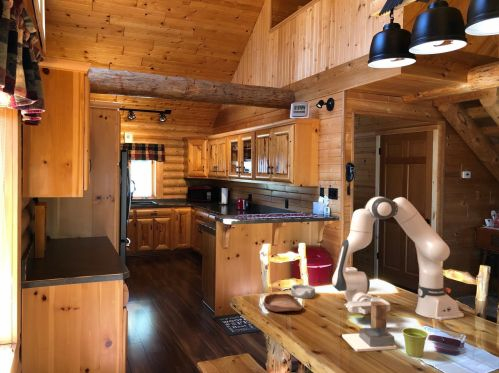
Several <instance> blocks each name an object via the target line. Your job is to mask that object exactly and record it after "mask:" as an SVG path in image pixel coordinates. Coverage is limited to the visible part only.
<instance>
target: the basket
mask: <svg viewBox="0 0 499 373" xmlns="http://www.w3.org/2000/svg"><path fill="white" fill-rule="evenodd" d="M263 307H265V309H266V310H269V311H270V312H277V313H278V312H291V311H295V312H298V311H301V310H302V309H303V308H304V304H303V305H302V304H301V303H300V302H299V301H298V300H297V298H296V297H294V296H293V295H292V294H290V293H272V294H268V295H266V296H265V297H264V299H263Z"/></svg>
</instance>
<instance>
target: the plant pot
mask: <svg viewBox="0 0 499 373" xmlns="http://www.w3.org/2000/svg"><path fill="white" fill-rule="evenodd" d="M401 332H402V335H403V339H404V346H405V348H404V349H405V354H406V355H408V356H412V357H414V358H421V357H423V356H422V355H424V350H425V345H426V340H427V337H428V336H429V333H428V332H427V331H425V330H423V329H421V328H416V327H405V328H402V329H401Z"/></svg>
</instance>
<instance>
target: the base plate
mask: <svg viewBox="0 0 499 373" xmlns="http://www.w3.org/2000/svg"><path fill="white" fill-rule="evenodd" d="M341 335H342V336H341V337H342V339H344V340H345V341H346V342H347V343H348V344H349V346H350V347H351V348H352V349H353V350H354V351H355V352H357V353H358V352H372V351H373V352H374V351H386V350H388V351H389V350H397V345H396V344H394V345H391V346H376V347H370V346H369V345H368V344H366V343H365V342H364V341H363V340H362V339H361V338H360V337H359V333H345V334H341Z"/></svg>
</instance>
